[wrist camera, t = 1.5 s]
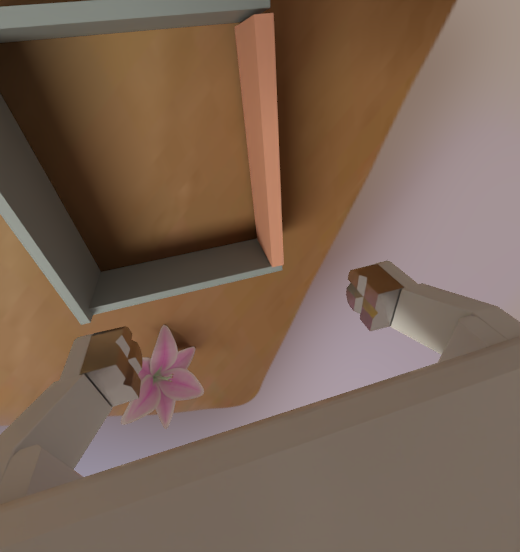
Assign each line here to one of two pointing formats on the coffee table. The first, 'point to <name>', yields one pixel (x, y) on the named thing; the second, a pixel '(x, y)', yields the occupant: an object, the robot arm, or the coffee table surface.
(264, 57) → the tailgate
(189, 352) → the lily
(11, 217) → the frame
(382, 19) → the coffee table surface
